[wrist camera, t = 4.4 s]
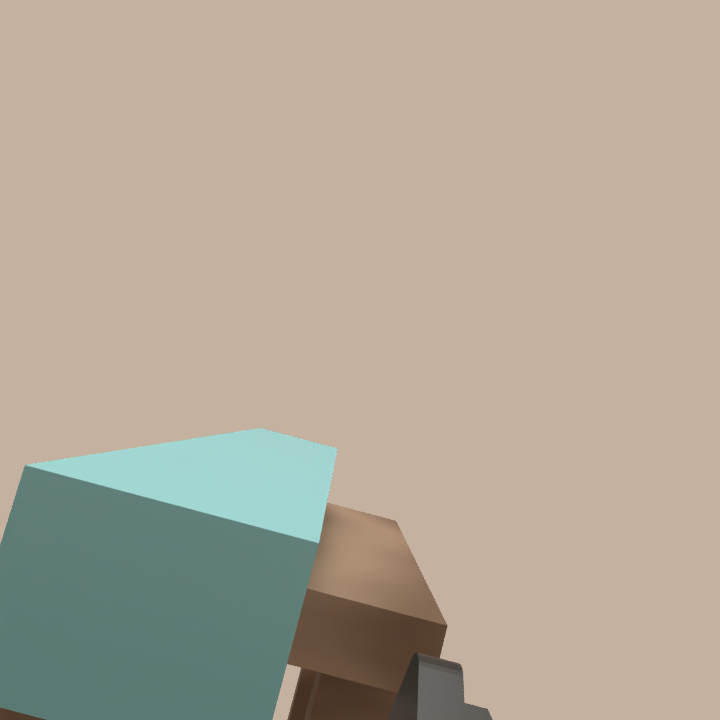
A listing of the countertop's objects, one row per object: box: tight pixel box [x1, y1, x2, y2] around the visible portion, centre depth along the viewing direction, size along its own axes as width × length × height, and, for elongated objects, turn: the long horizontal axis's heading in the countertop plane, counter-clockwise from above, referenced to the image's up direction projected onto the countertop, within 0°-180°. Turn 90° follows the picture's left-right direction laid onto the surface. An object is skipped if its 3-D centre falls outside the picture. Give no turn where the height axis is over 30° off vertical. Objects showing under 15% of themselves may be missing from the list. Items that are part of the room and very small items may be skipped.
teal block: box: [0, 428, 337, 720], centre depth 20 cm, size 4×24×3 cm, turn 1°
